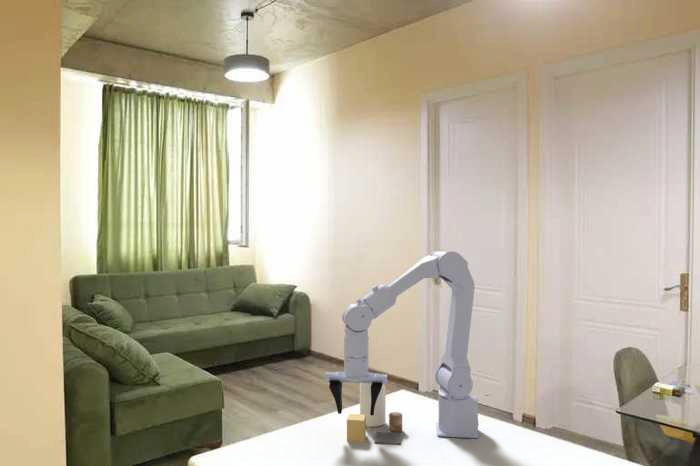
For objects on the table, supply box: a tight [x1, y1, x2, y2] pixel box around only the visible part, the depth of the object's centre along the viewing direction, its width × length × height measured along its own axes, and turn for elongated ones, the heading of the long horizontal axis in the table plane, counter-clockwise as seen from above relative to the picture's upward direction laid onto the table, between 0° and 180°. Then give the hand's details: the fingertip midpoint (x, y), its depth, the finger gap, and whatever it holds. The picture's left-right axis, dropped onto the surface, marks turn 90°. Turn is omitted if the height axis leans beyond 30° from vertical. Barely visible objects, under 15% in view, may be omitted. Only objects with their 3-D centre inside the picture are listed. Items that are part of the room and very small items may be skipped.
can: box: [359, 383, 386, 428], centre depth 135 cm, size 6×6×12 cm
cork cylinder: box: [388, 411, 403, 434], centre depth 130 cm, size 3×3×4 cm
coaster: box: [374, 431, 402, 445], centre depth 125 cm, size 6×6×1 cm
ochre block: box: [346, 413, 367, 443], centre depth 125 cm, size 4×4×5 cm
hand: (356, 413), depth 125 cm, fingers open, 7 cm apart
